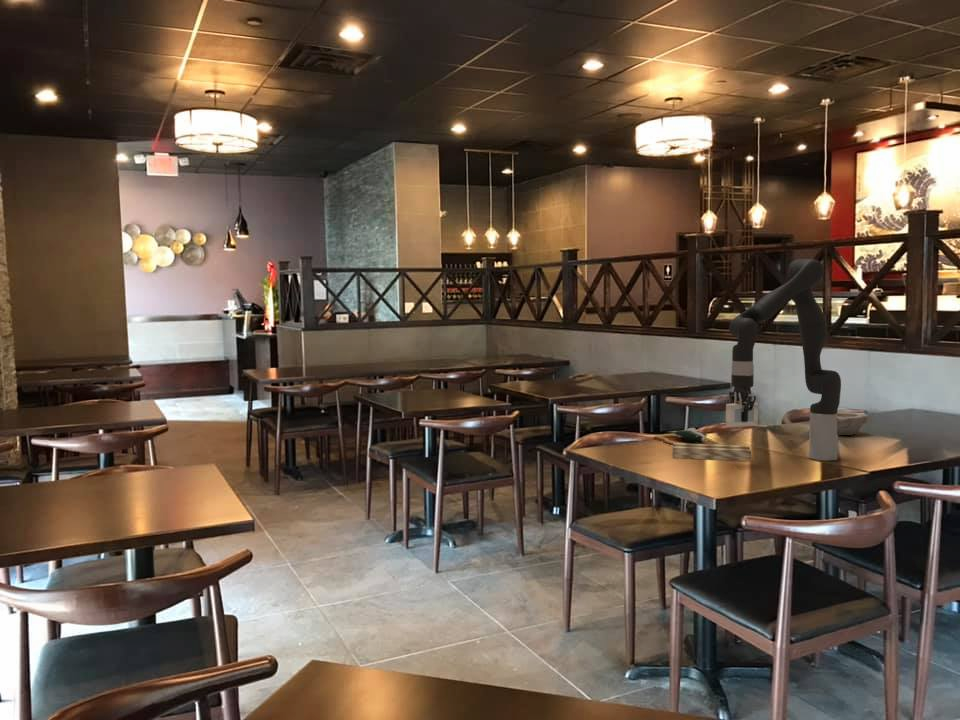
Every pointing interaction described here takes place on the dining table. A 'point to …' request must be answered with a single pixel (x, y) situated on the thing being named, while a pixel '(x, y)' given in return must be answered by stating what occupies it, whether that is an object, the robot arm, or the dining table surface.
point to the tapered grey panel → (735, 415)
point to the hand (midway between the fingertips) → (741, 421)
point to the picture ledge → (712, 452)
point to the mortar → (850, 422)
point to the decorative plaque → (686, 437)
